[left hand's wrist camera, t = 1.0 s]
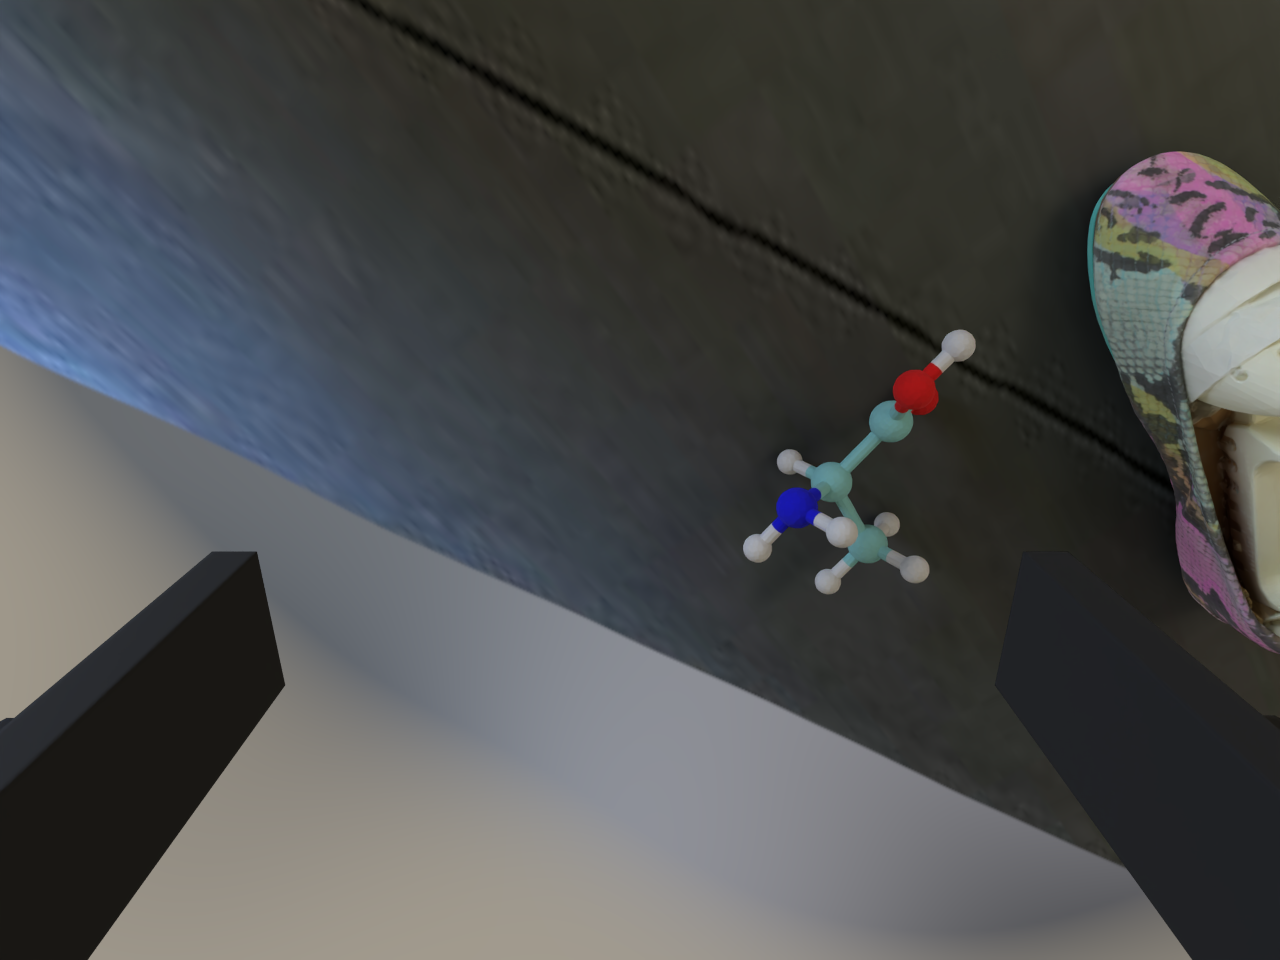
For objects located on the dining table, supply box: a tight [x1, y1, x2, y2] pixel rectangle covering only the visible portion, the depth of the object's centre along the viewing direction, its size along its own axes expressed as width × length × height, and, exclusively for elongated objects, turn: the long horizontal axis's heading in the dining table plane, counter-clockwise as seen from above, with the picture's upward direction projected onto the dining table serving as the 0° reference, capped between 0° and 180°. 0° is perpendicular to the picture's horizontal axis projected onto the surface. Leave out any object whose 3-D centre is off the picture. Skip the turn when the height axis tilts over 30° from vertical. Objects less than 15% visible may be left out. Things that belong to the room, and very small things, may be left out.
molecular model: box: [743, 330, 976, 594], centre depth 32 cm, size 12×10×10 cm
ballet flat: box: [1087, 152, 1280, 654], centre depth 31 cm, size 8×24×9 cm, turn 26°
